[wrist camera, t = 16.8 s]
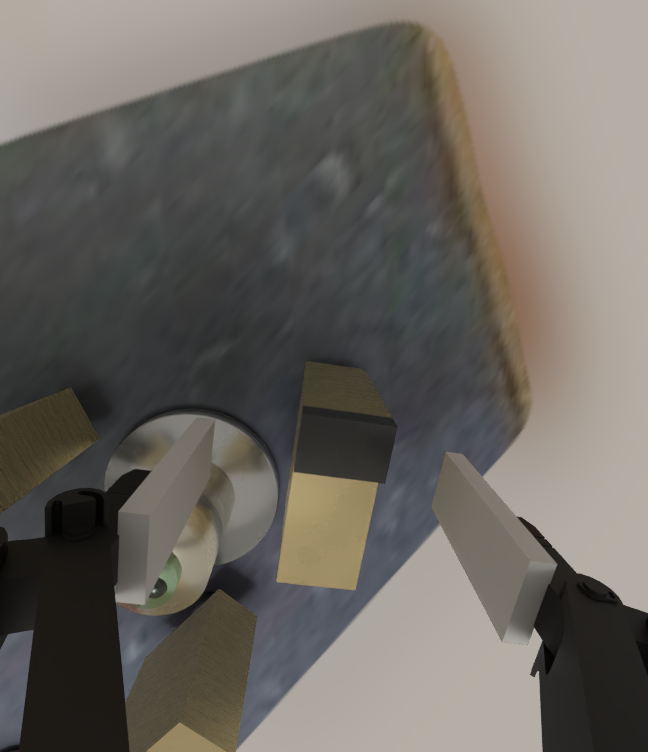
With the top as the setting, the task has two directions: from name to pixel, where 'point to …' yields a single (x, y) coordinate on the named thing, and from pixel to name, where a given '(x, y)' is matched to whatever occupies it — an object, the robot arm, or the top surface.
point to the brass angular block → (333, 476)
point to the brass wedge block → (194, 683)
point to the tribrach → (204, 503)
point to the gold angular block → (40, 442)
